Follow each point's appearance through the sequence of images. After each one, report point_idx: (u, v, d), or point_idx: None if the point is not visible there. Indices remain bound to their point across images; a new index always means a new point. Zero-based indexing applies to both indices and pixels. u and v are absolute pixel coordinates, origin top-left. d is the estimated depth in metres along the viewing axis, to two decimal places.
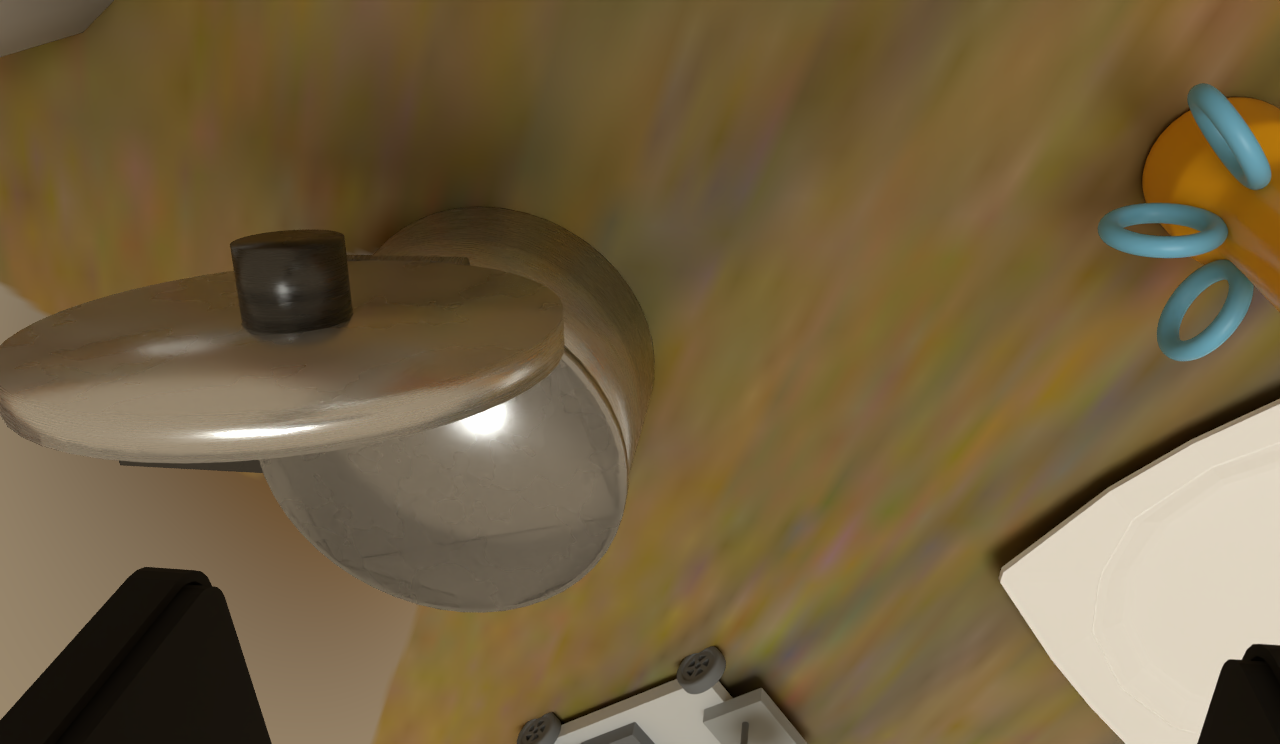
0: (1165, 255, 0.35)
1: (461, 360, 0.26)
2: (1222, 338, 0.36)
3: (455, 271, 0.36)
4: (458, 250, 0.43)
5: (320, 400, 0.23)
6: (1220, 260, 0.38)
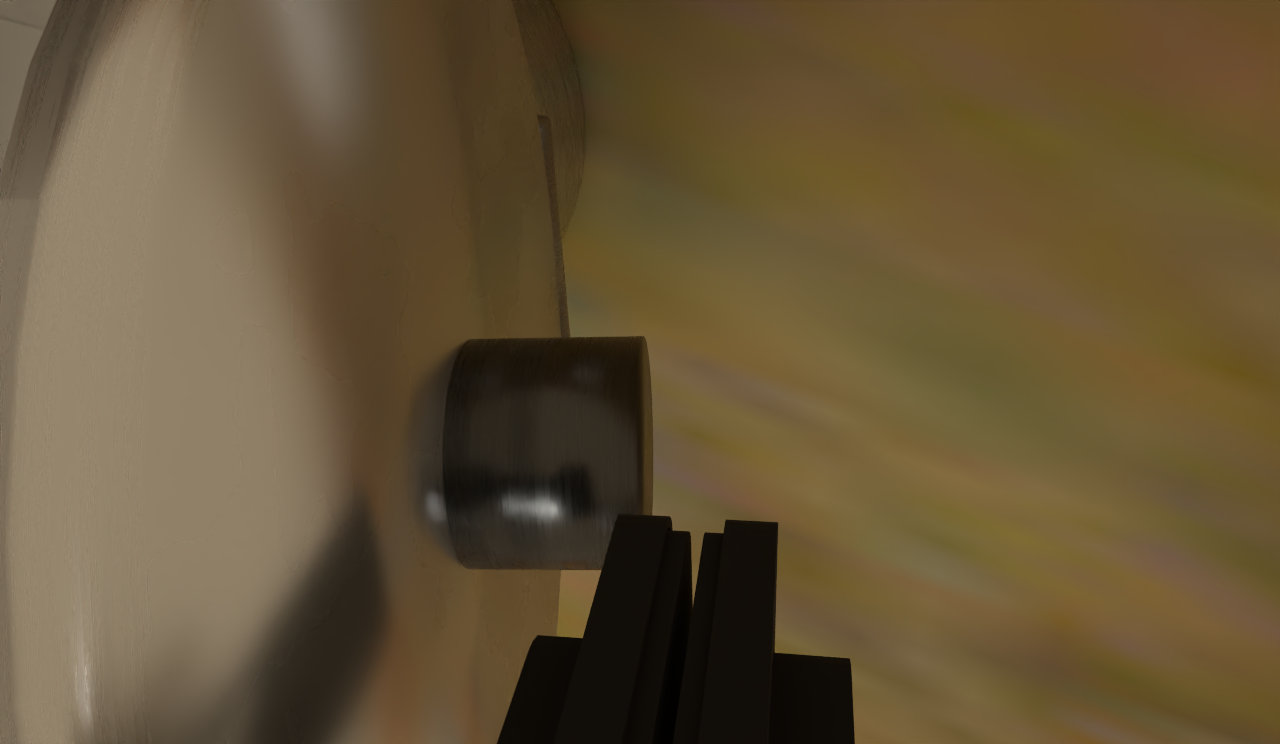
0: None
1: None
2: None
3: None
4: None
5: None
6: None
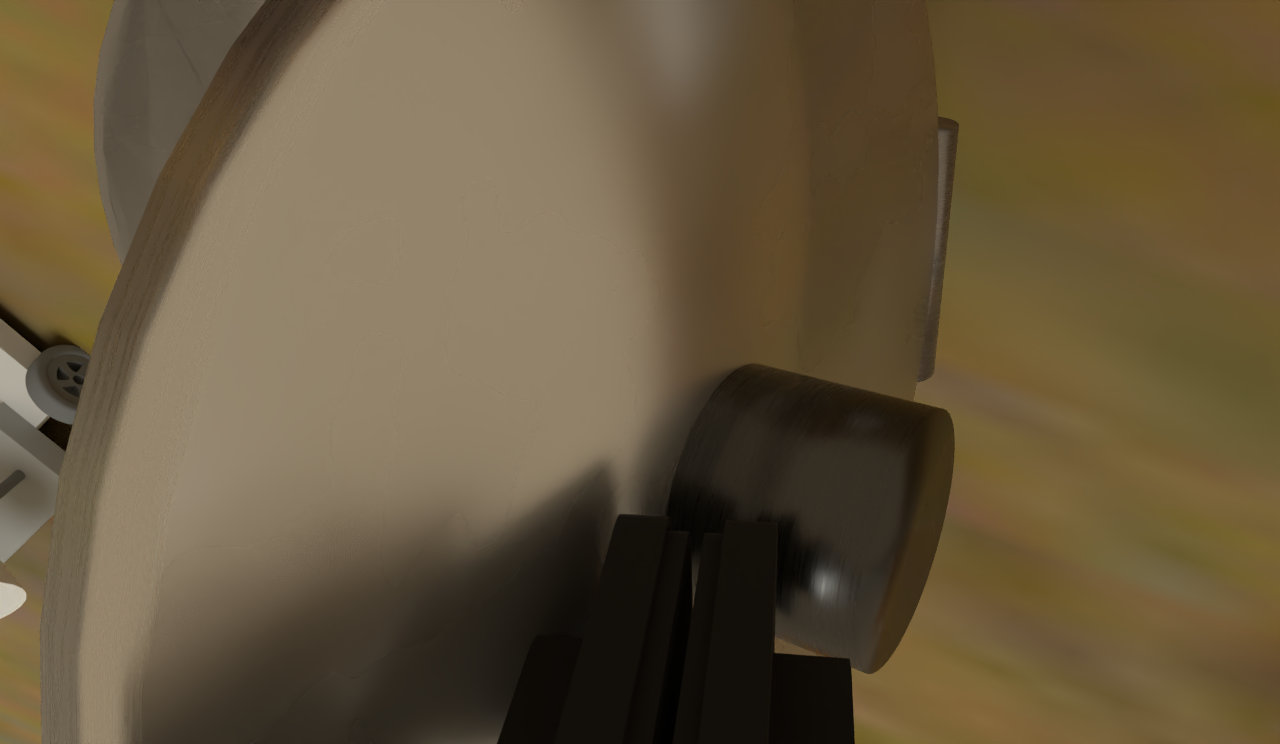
0: None
1: None
2: None
3: None
4: None
5: None
6: None
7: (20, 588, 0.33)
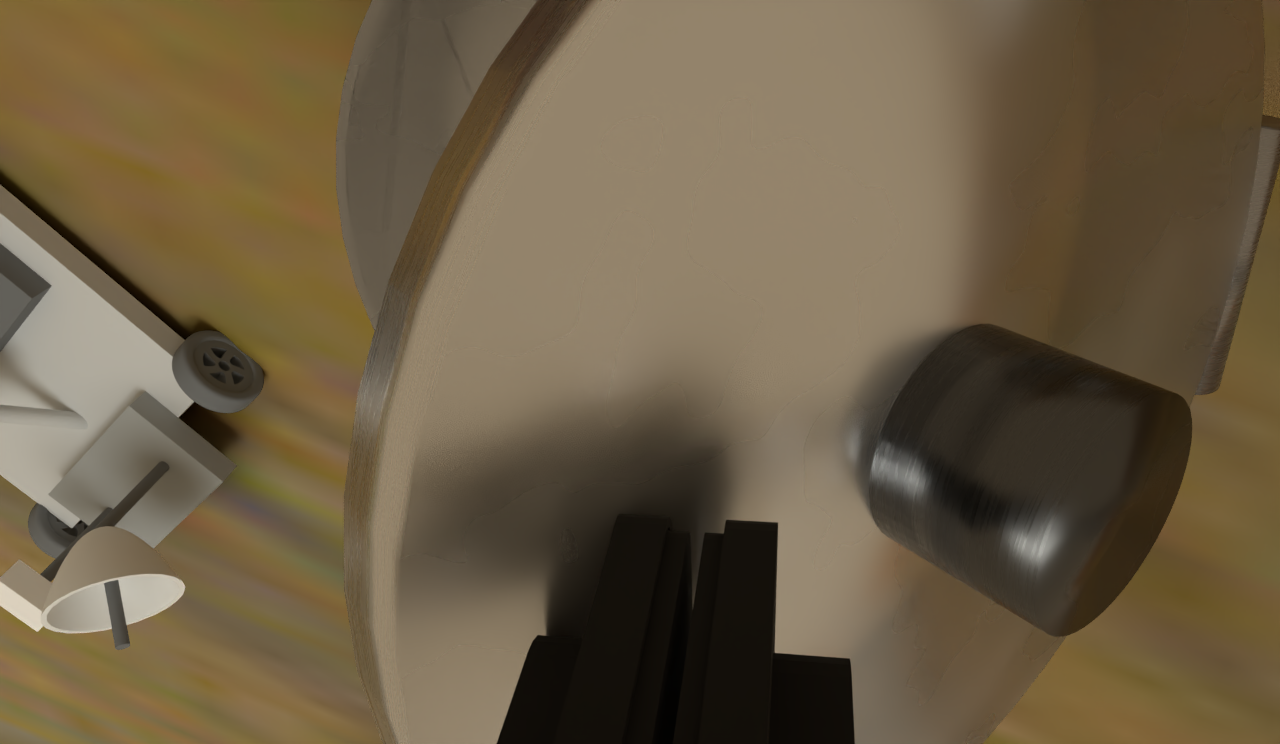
0: None
1: None
2: None
3: None
4: None
5: None
6: None
7: (180, 581, 0.31)
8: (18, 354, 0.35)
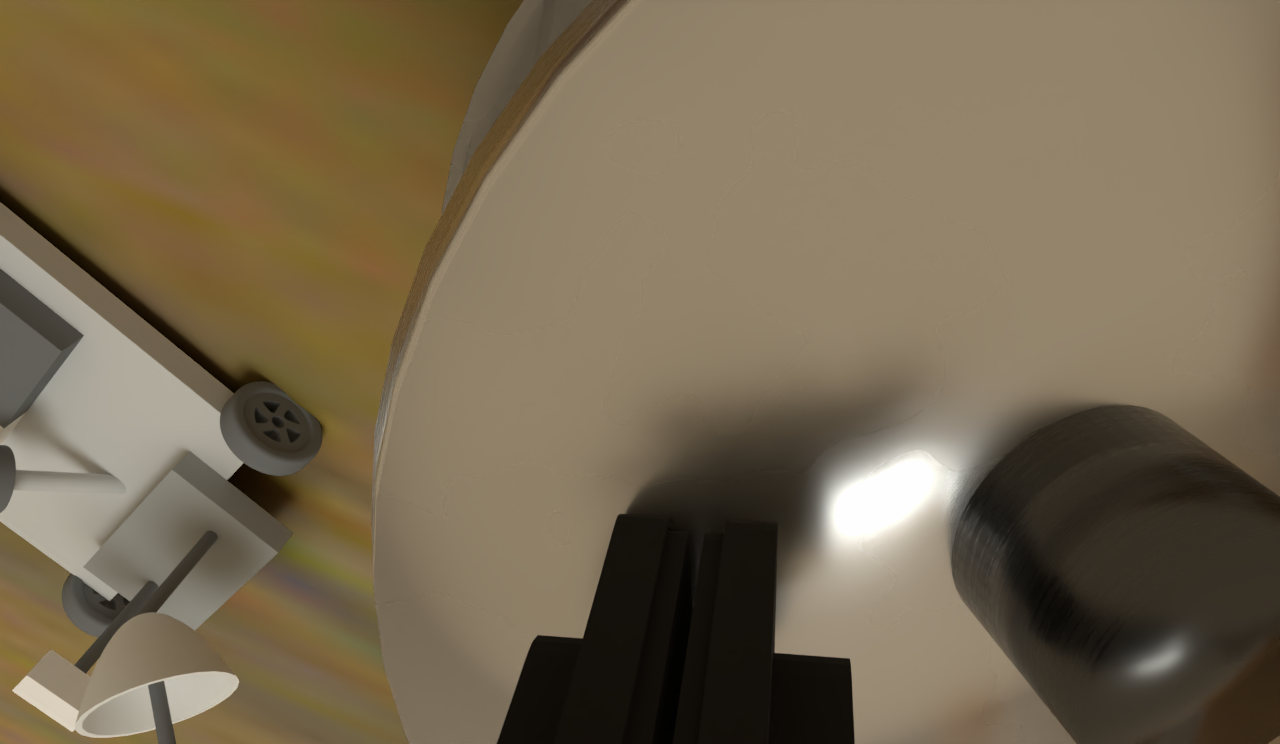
0: None
1: None
2: None
3: None
4: None
5: None
6: None
7: (234, 676, 0.27)
8: (48, 412, 0.31)
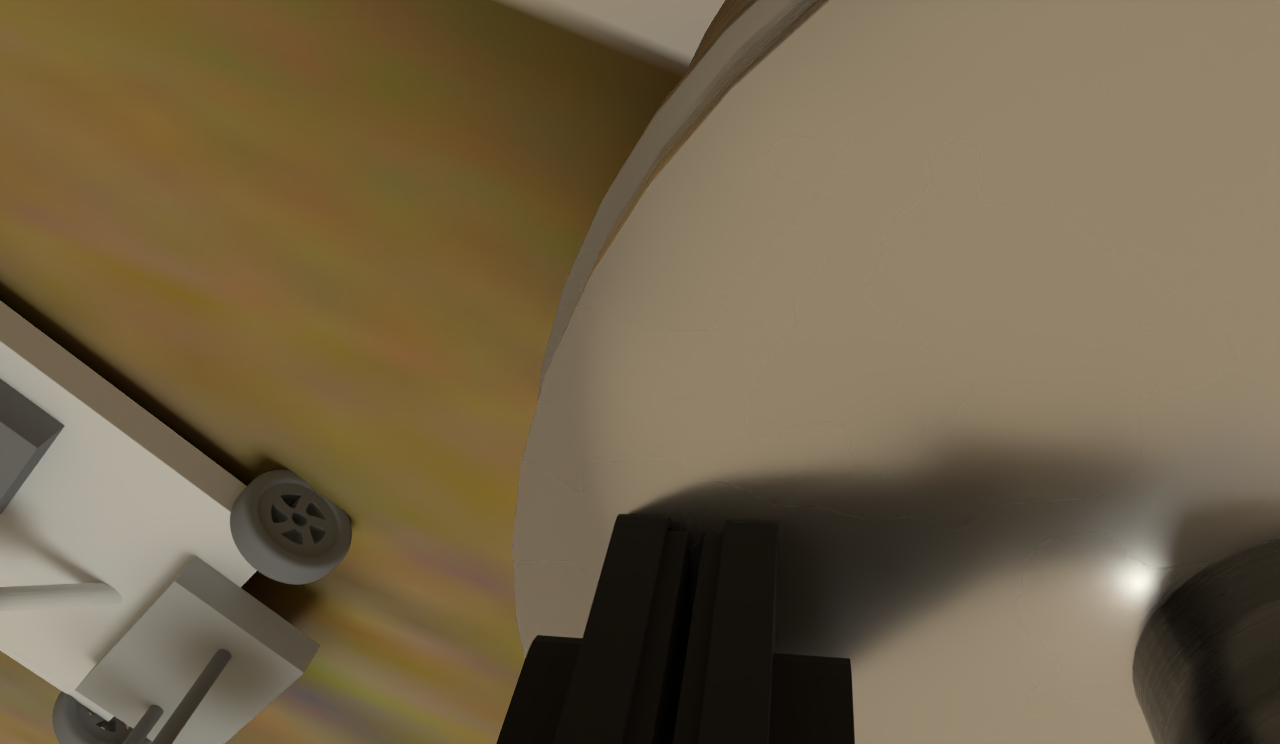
0: None
1: None
2: None
3: None
4: None
5: None
6: None
7: None
8: (26, 513, 0.26)
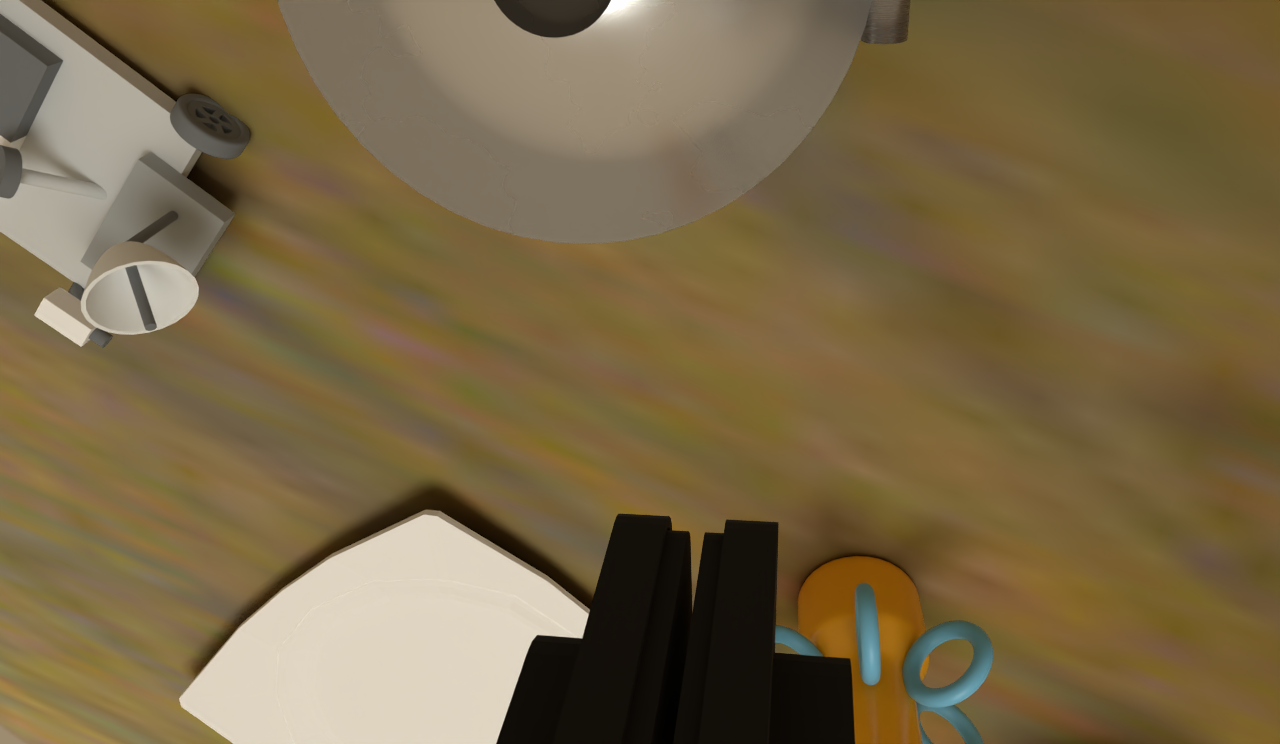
0: (866, 661, 0.41)
1: (468, 191, 0.29)
2: None
3: (813, 56, 0.27)
4: None
5: (345, 113, 0.28)
6: None
7: (194, 278, 0.37)
8: (42, 133, 0.41)
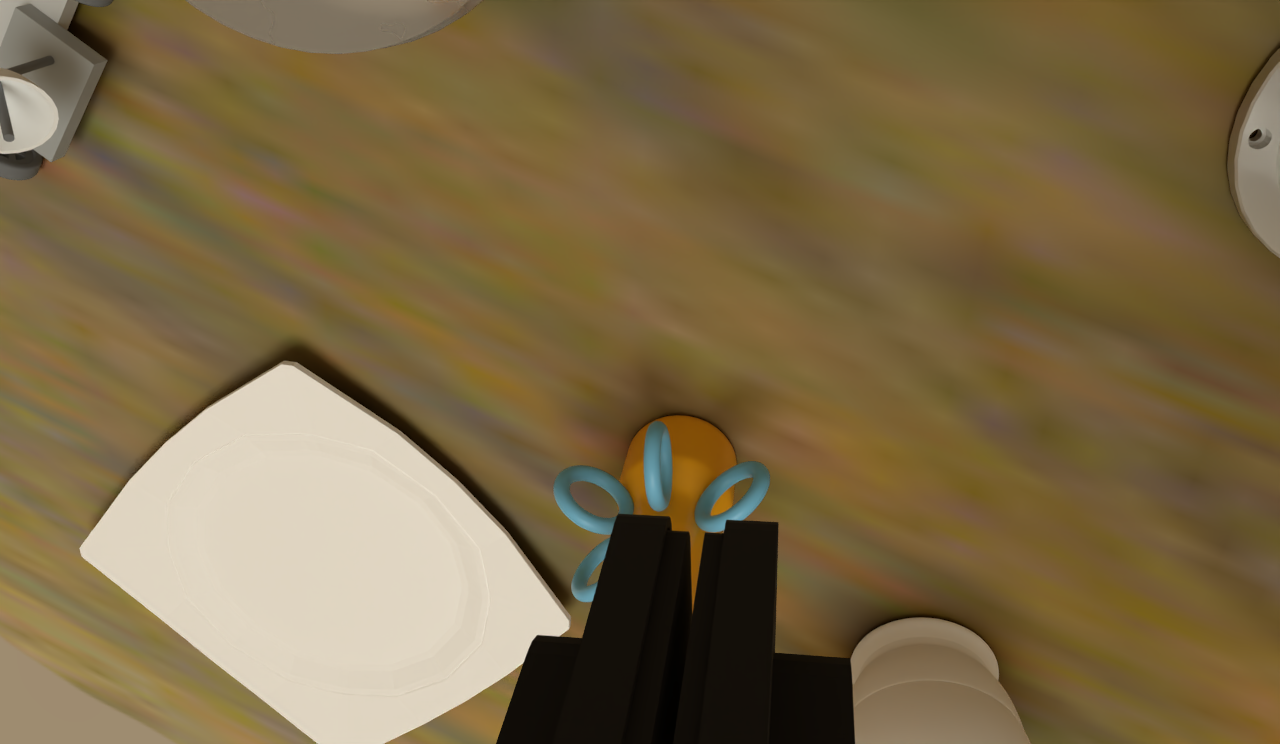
0: (647, 483, 0.45)
1: (233, 4, 0.34)
2: (583, 525, 0.47)
3: None
4: None
5: None
6: (631, 497, 0.49)
7: (51, 99, 0.42)
8: None
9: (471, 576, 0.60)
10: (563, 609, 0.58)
